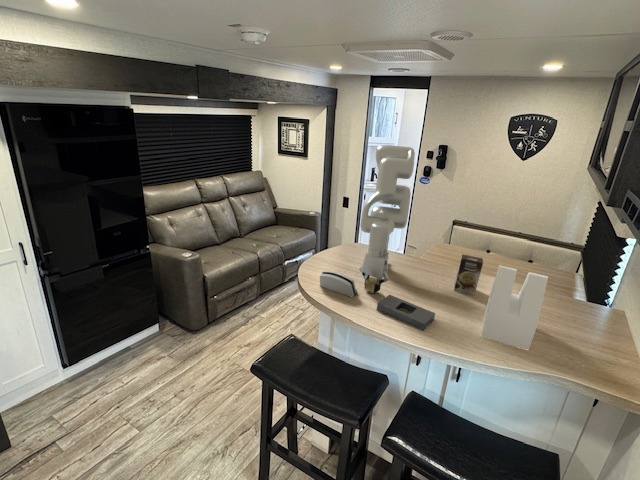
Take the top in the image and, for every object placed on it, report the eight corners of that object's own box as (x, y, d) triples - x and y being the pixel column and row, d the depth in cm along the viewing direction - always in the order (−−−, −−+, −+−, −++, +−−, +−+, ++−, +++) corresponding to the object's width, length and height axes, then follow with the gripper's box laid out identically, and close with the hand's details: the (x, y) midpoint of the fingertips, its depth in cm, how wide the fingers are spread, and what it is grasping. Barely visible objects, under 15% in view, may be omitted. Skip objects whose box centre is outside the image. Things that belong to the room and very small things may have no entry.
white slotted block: (484, 312, 145) (500, 257, 136) (526, 324, 139) (545, 267, 130) (481, 336, 129) (498, 276, 120) (528, 351, 123) (550, 288, 114)
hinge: (357, 292, 153) (356, 276, 147) (353, 299, 150) (351, 283, 144) (324, 281, 161) (322, 265, 155) (319, 288, 158) (317, 272, 152)
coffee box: (453, 290, 161) (461, 258, 155) (454, 284, 166) (461, 253, 160) (474, 295, 158) (483, 263, 152) (474, 289, 163) (482, 257, 157)
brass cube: (370, 285, 157) (371, 276, 156) (378, 289, 155) (379, 280, 153) (364, 289, 154) (365, 280, 152) (373, 293, 152) (374, 284, 150)
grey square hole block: (388, 300, 149) (389, 294, 147) (433, 319, 137) (435, 313, 136) (376, 310, 141) (377, 303, 140) (423, 330, 130) (424, 324, 129)
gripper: (399, 254, 145) (393, 292, 152) (364, 243, 155) (360, 279, 162) (390, 260, 140) (384, 299, 147) (355, 247, 149) (351, 285, 156)
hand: (371, 288), depth 154 cm, fingers closed on brass cube, 4 cm apart
